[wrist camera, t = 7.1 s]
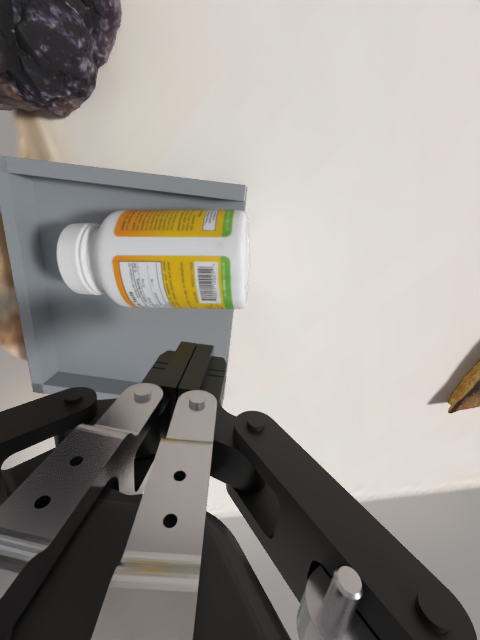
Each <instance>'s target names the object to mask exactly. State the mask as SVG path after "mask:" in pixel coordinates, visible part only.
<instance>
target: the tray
mask: <svg viewBox="0 0 480 640" xmlns="http://www.w3.org/2000/svg"><path fill="white" fill-rule="evenodd" d="M246 195H247V187H246V186H245V185H239V184H231V183H222V182H214V181H206V180H197V179H189V178H181V177H173V176H164V175H156V174H148V173H140V172H131V171H123V170H115V169H107V168H98V167H90V166H82V165H74V164H65V163H57V162H49V161H41V160H32V159H24V158H16V157H7V156H0V208H1V214H2V220H3V225H4V231H5V236H6V242H7V248H8V253H9V259H10V264H11V270H12V276H13V281H14V287H15V292H16V298H17V304H18V309H19V315H20V320H21V326H22V332H23V337H24V343H25V348H26V354H27V360H28V365H29V371H30V377H31V382H32V388H33V392H37V393H44V394H54V393H57V392H60V391H62V390H65V389H69V388H73V387H87V388H91V389H93V390H94V391H95V392H96V394H97V400H103V399H115V398H118V397H119V396H120V395H121V394H122V393H123V392H124V391H125V390H126V389H127V388H128V387H130V386H132V385H135V384H140V383H141V382H142V381H143V379H144V378H145V376H146V375H147V373H148V372H149V370H150V369H151V368H152V366H153V364H154V363H155V362H156V360H157V359H158V357H159V356H160V355H161V354H163V353H164V352H166V351H168V350H171V351H176V349H177V348H178V346H179V344H180V342H181V341H184V342H191V343H197V344H198V343H199V344H207V345H214V356H216V357H223V358H224V359H225V361H226V363H227V364H228V355H229V346H230V338H231V329H232V320H233V311H234V309H202V308H141V307H140V308H135V307H125V306H121V305H119V304H117V303H116V302H114V301H113V300H112V299H111V298H110V297H109V296H108V295H107V294H102V295H90V294H79V293H76V292H74V291H73V290H71V289H70V288H69V287H68V286H67V284H66V283H65V282H64V280H63V278H62V276H61V274H60V271H59V268H58V263H57V243H58V239H59V236H60V234H61V232H62V231H63V229H64V228H65V227H67V226H68V225H70V224H74V223H95V224H102V222H103V221H104V220H105V218H106V217H107V216H108V215H110V214H111V213H114V212H116V211H121V210H242V211H245V204H246ZM226 373H227V370H226ZM225 382H226V379H225ZM224 391H225V388H224ZM223 399H224V395H223ZM222 404H223V400H222ZM221 406H222V405H221Z"/></svg>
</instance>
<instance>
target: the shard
mask: <svg viewBox="0 0 480 640" xmlns="http://www.w3.org/2000/svg"><path fill="white" fill-rule="evenodd" d="M448 403H449V404H450V405H451V407H450V408H449V410H448V412H449V413H453V412H456V411H459V410H465V409H469V408H475V407H479V406H480V361H479V362H478V363H477V364H476V365H475V366H474V367H473V368H472V370H471V371H470V372H468V374H467V375H466V376H464V378H463V379H462V381H461V382H460V383H459V384H458V387H457V388H456V390H455V391H454V392H453V393H452V395H451V397H450V399H449V402H448Z"/></svg>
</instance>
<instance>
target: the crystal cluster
mask: <svg viewBox="0 0 480 640" xmlns="http://www.w3.org/2000/svg"><path fill="white" fill-rule="evenodd" d="M121 14H122V12H121V3H120V0H0V110H12V109H15V108H20V109H24V110H27V111H36V110H44V111H53V112H54V113H55V114H57V115H59V116H69V114H70V113H71V112H72V111H73V110H75V109H77V108H79V107H80V106H81V104H82V103H83V102H85V101H86V100H87V99H88V98H89V97H90V95H91V94H92V92H93V90H94V89H95V85H96V78H97V72H98V69H99V67H100V66H101V65H103V64H104V63H106V62H107V60H108V57H109V54H110V52H111V50H112V48H113V45H114V43H115V38H116V32H117V30H118V28H119V27H120V22H121Z"/></svg>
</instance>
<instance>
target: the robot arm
mask: <svg viewBox="0 0 480 640" xmlns="http://www.w3.org/2000/svg"><path fill="white" fill-rule="evenodd" d="M226 370H227V363H226V361H225V359H224V358H223V357H216V356H214V345H207V344H199V343H198V344H197V343H191V342H184V341H181V342H180V344H179V346H178V348H177V349H176V351H171V350H168V351H166V352H164V353H163V354H161V355H160V356H159V357H158V359H157V360H156V362H155V363H154V364H153V366H152V368H151V369H150V370H149V372H148V373H147V375H146V376H145V378H144V379H143V381H142V382H141V383H140V384H135V385H132V386H130V387H128V388H127V389H126V390H125V391H124V392H123V393H122V394H121V395H120V396H119V397H118V398H115V399H103V400H97V394H96V392H95V391H94V390H93V389H91V388H87V387H73V388H69V389H65V390H62V391H60V392H57V393H54V394H51V395H48V396H45V397H42V398H40V399H36V400H34V401H31V402H28V403H25V404H22V405H19V406H16V407H13V408H10V409H7V410H5V411H2V412H0V640H291V639H290V637H289V635H288V633H287V632H286V629H285V628H284V626H283V624H282V622H281V620H280V619H279V617H278V615H277V613H276V611H275V609H274V608H273V606H272V604H271V602H270V600H269V599H268V597H267V595H266V593H265V592H264V589H263V588H262V586H261V584H260V582H259V580H258V578H257V577H256V575H255V573H254V571H253V570H252V567H251V566H250V564H249V562H248V560H247V558H246V556H245V555H244V553H243V551H242V549H241V548H240V546H239V544H238V542H237V540H236V538H235V537H234V536H233V534H232V533H231V531H230V530H229V529H228V528H227V527H226V526H225V525H224V524H223V523H222V522H221V521H220V520H218V519H217V518H216V517H215V516H213V515H212V514H210V513H208V512H207V511H206V507H207V497H208V487H209V478H210V476H212V477H214V478H216V479H218V480H220V481H222V482H224V483H226V488H227V492H228V494H229V495H230V497H231V498H232V500H233V501H234V503H235V504H236V506H237V508H238V509H239V511H240V512H241V514H242V515H243V517H244V518H245V519H246V521H247V523H248V524H249V526H250V527H251V529H252V530H253V532H254V534H255V535H256V536H257V538H258V539H259V541H260V543H261V544H262V546H263V547H264V549H265V550H266V552H267V553H268V555H269V556H270V558H271V560H272V561H273V563H274V564H275V566H276V567H277V568H278V570H279V572H280V573H281V575H282V576H283V578H284V579H285V581H286V582H287V584H288V585H289V587H290V589H291V590H292V592H293V593H294V595H295V596H296V597H297V599H298V601H299V602H300V606H299V609H298V613H297V631H298V636H299V639H300V640H477V637H476V633H475V630H474V627H473V624H472V622H471V620H470V618H469V616H468V614H467V613H466V611H465V609H464V608H463V606H462V605H461V603H460V602H459V601H458V600H457V598H456V597H455V596H454V595H453V594H452V593H451V592H450V591H449V589H447V588H446V587H445V586H444V585H443V584H442V583H441V582H440V581H439V580H438V579H437V578H436V577H435V576H434V575H433V574H432V573H431V572H430V571H429V570H428V569H427V568H426V567H425V566H424V565H423V564H422V563H421V562H420V561H419V560H418V559H416V558H415V557H414V556H413V555H412V554H411V553H410V552H409V551H408V550H407V549H406V548H405V547H404V546H403V545H402V544H401V543H400V542H399V541H398V540H397V539H396V538H395V537H394V536H393V535H392V534H391V533H390V532H389V531H388V530H387V529H385V528H384V527H383V526H382V525H381V524H380V523H379V522H378V521H377V520H376V519H375V518H374V517H373V516H372V515H371V514H370V513H369V512H368V511H367V510H366V509H365V508H364V507H363V506H362V505H361V504H360V503H359V502H358V501H357V500H355V499H354V498H353V497H352V496H351V495H350V494H349V493H348V492H347V491H346V490H345V489H344V488H343V487H342V486H341V485H340V484H339V483H338V482H337V481H336V480H335V479H334V478H333V477H332V476H331V475H330V474H329V473H328V472H327V471H326V470H324V469H323V468H322V467H321V466H320V465H319V464H318V463H317V462H316V461H315V460H314V459H313V458H312V457H311V456H310V455H309V454H308V453H307V452H306V451H305V450H304V449H303V448H302V447H301V446H300V445H299V444H298V443H297V442H296V441H295V440H293V439H292V438H291V437H290V436H289V435H288V434H287V433H286V432H285V431H284V430H283V429H282V428H281V427H280V426H279V425H278V424H277V423H276V422H275V421H274V420H273V419H272V418H271V417H269V416H268V415H266V414H264V413H261V412H258V411H246V412H243V413H241V414H239V415H238V416H237V417H236V416H234V415H231V414H229V413H228V412H226V411H225V410H224V409H223V408H222V406H221V405H222V400H223V395H224V388H225V379H226ZM53 436H54V439H55V445H56V448H53V449H51V450H49V451H47V452H45V453H43V454H41V455H38V456H36V457H35V458H32V459H30V460H28V461H26V462H23V463H21V464H19V465H17V466H15V467H13V468H10V469H7V470H1V466H2V464H3V462H4V461H5V460H6V459H7V458H8V457H9V456H11V455H12V454H14V453H16V452H19V451H21V450H23V449H26V448H28V447H30V446H32V445H35V444H37V443H39V442H42V441H44V440H46V439H48V438H51V437H53ZM143 492H144V493H143Z"/></svg>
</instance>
